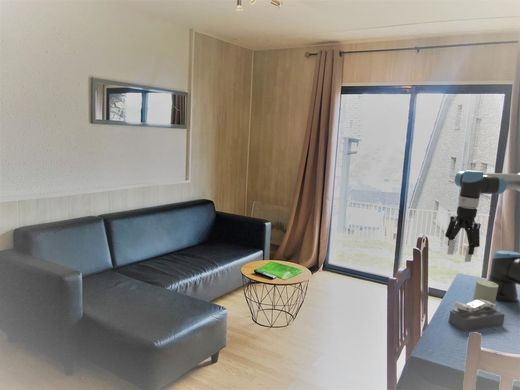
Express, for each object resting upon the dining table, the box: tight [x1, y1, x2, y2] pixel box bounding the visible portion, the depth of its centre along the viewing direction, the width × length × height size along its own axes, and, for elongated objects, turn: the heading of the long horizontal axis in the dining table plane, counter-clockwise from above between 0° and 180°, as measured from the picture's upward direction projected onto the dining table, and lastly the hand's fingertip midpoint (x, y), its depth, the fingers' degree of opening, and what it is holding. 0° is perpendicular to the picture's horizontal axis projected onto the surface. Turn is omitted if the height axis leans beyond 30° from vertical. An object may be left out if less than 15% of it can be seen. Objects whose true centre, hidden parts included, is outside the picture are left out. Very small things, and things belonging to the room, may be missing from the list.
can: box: [472, 279, 498, 305], centre depth 192 cm, size 9×9×12 cm
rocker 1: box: [453, 301, 473, 312], centre depth 172 cm, size 6×4×2 cm
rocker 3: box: [479, 299, 498, 310], centre depth 177 cm, size 6×4×2 cm
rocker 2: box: [465, 300, 485, 311], centre depth 175 cm, size 6×4×2 cm
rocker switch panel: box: [448, 306, 505, 332], centre depth 174 cm, size 22×8×6 cm, turn 112°
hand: (458, 257), depth 180 cm, fingers open, 9 cm apart
